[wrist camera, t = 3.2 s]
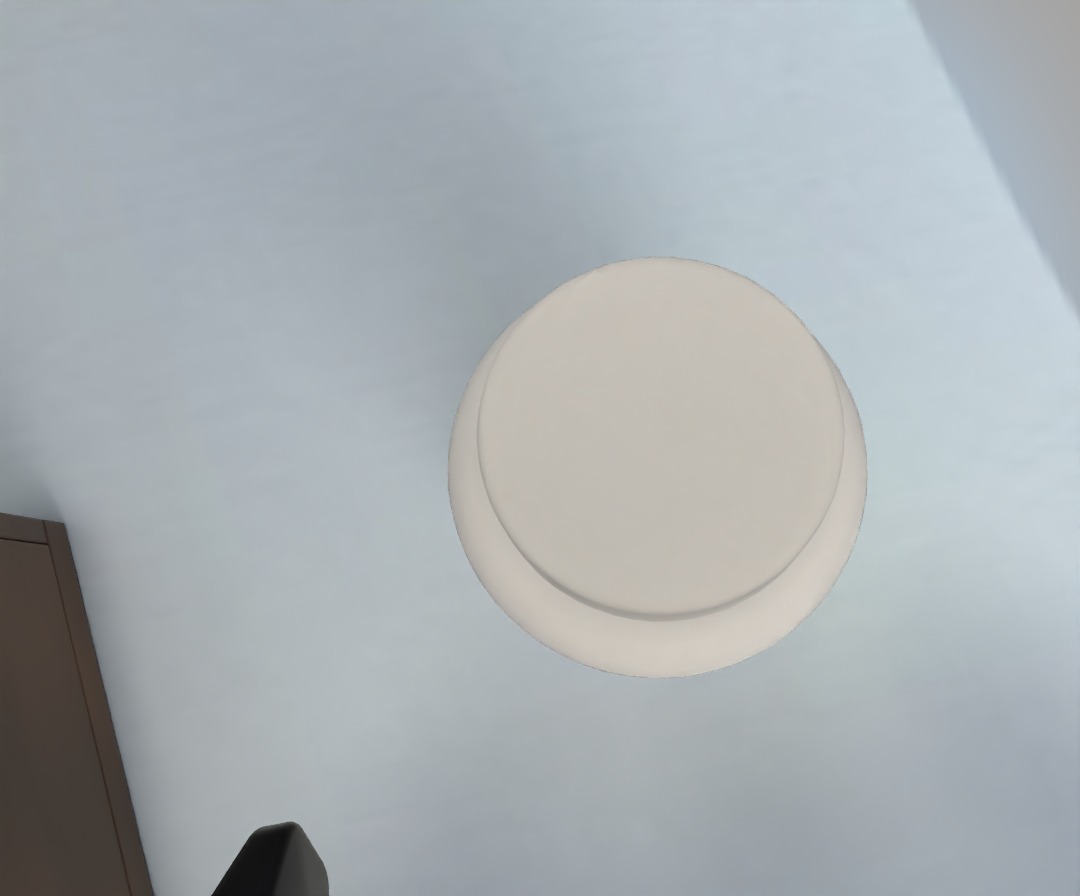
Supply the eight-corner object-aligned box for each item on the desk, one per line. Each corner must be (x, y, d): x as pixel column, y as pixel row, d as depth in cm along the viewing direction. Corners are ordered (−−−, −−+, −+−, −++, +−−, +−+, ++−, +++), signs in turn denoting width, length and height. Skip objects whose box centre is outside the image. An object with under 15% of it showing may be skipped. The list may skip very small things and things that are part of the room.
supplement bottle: (494, 629, 20) (348, 637, 10) (542, 380, 21) (454, 152, 11) (757, 681, 19) (892, 748, 9) (795, 420, 20) (958, 217, 10)
